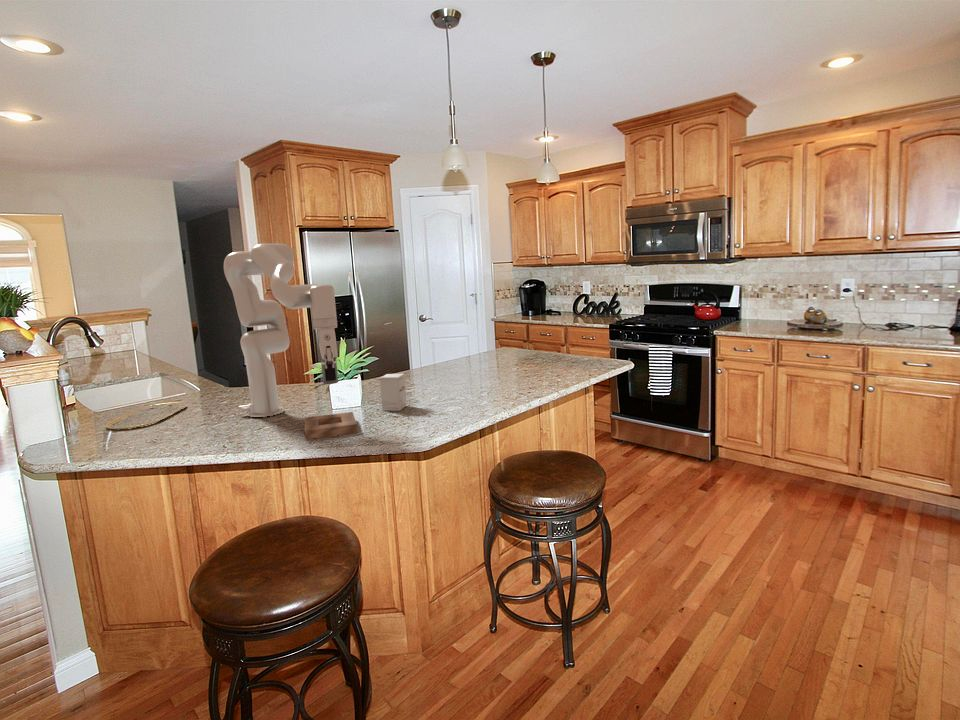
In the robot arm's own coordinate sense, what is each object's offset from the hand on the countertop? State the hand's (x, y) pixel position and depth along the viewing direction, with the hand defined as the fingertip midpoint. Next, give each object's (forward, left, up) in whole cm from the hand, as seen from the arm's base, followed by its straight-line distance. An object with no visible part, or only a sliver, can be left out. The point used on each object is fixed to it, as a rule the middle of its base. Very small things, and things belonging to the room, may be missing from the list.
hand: (330, 378), depth 175 cm
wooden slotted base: (-1, -1, -17) cm, 17 cm away
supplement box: (+23, +16, -17) cm, 33 cm away
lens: (0, 0, -1) cm, 1 cm away
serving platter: (-67, +50, -18) cm, 85 cm away
